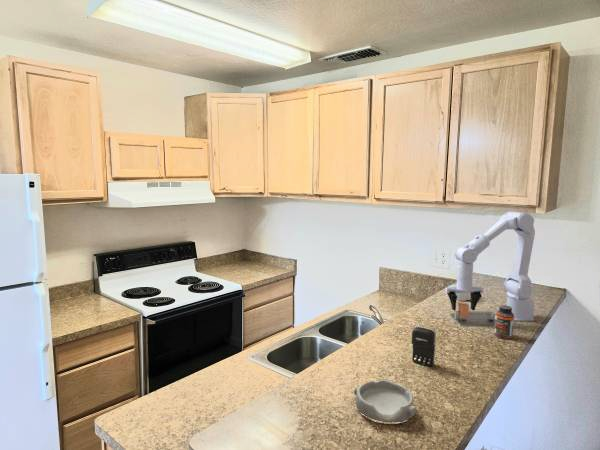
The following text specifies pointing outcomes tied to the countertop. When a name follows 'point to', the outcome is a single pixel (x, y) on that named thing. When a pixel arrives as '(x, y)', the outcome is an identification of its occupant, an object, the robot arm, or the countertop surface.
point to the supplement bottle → (504, 322)
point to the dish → (385, 401)
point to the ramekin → (462, 295)
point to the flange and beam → (475, 318)
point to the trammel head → (463, 309)
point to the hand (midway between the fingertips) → (463, 309)
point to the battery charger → (423, 345)
